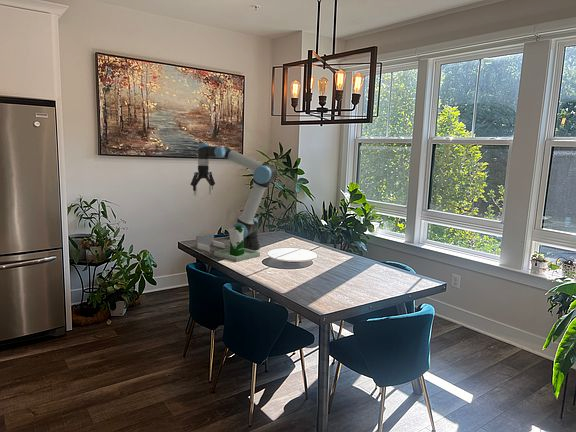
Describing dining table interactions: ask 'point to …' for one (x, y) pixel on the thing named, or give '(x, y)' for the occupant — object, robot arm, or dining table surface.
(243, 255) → the tray
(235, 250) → the soya milk
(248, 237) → the robot arm
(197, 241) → the dock
